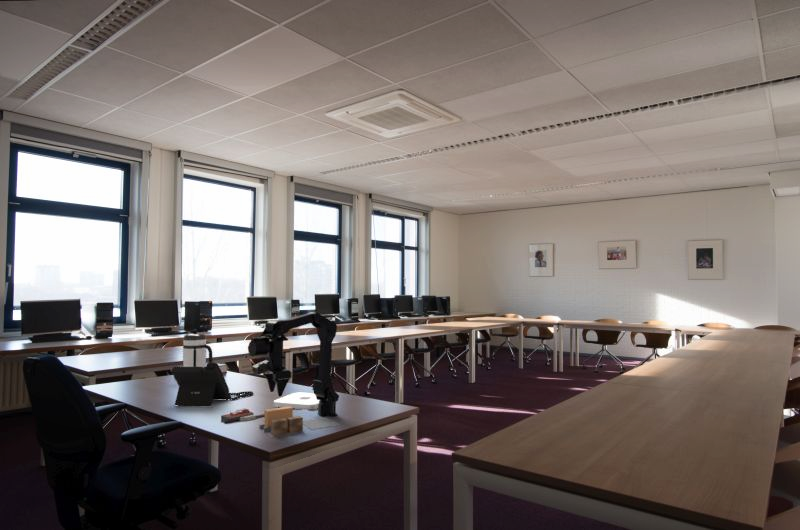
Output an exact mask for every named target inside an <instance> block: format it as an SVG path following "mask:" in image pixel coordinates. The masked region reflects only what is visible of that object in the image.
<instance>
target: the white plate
mask: <svg viewBox="0 0 800 530" xmlns="http://www.w3.org/2000/svg"><path fill="white" fill-rule="evenodd" d="M318 404H319V400H317V398H316V395H315V394H314V392H304V391H303V392H301V391H299V392H298V391H297V392H293V393H292V392H291V393H290V394H288V395H284V396H281V397H279V398H277V399H274V400H273V407H274V406H275V407H274V408H278V407H287V406H290V407H292V408H295V409H294V410H301V409H304V410H306V409H307V410H306V411H311V410H310V409H315V410H318V409H317V408H318Z"/></svg>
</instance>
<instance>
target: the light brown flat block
mask: <svg viewBox="0 0 800 530" xmlns="http://www.w3.org/2000/svg"><path fill="white" fill-rule="evenodd" d="M293 411H294V409H293V408H292V407H290V406H287V407H281V408H278V407H274V408H267V409H264V414H265V417H264V424H265V427H268V426H271V420H277V419H283V418H285V419H286V420H287V418H289V417H294V416H293V415H294V414H293V413H294V412H293Z"/></svg>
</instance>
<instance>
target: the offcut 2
mask: <svg viewBox="0 0 800 530" xmlns="http://www.w3.org/2000/svg"><path fill="white" fill-rule="evenodd" d="M303 421H304V418H303V416H301V415H296V416H293V417H289V418H287V432H288V433H293V434H296V433H295V432H298V433H302V432H301V431H303V430H304V428H303V427H304V425H303Z"/></svg>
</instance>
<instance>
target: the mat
mask: <svg viewBox="0 0 800 530" xmlns="http://www.w3.org/2000/svg"><path fill="white" fill-rule="evenodd" d="M336 426H341V423H338V422H336V421H335V420H332V419H331V418H328V417H319V418H313V419H308V420H303V427H306V428H307V429H309V430H311V431H315V430H319V429H325V428H330V427H336Z"/></svg>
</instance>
